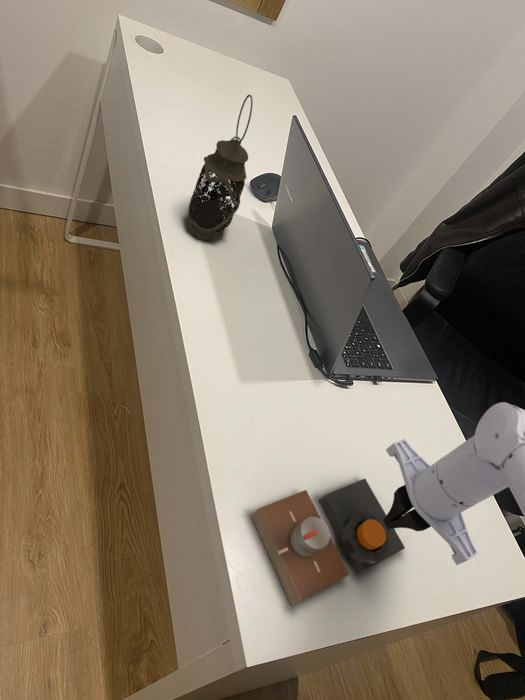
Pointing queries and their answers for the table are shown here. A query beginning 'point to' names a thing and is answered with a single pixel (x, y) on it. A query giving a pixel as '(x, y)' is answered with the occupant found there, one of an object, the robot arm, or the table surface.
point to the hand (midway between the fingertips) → (390, 522)
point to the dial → (310, 536)
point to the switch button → (371, 534)
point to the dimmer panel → (291, 568)
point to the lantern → (226, 166)
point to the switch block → (358, 523)
